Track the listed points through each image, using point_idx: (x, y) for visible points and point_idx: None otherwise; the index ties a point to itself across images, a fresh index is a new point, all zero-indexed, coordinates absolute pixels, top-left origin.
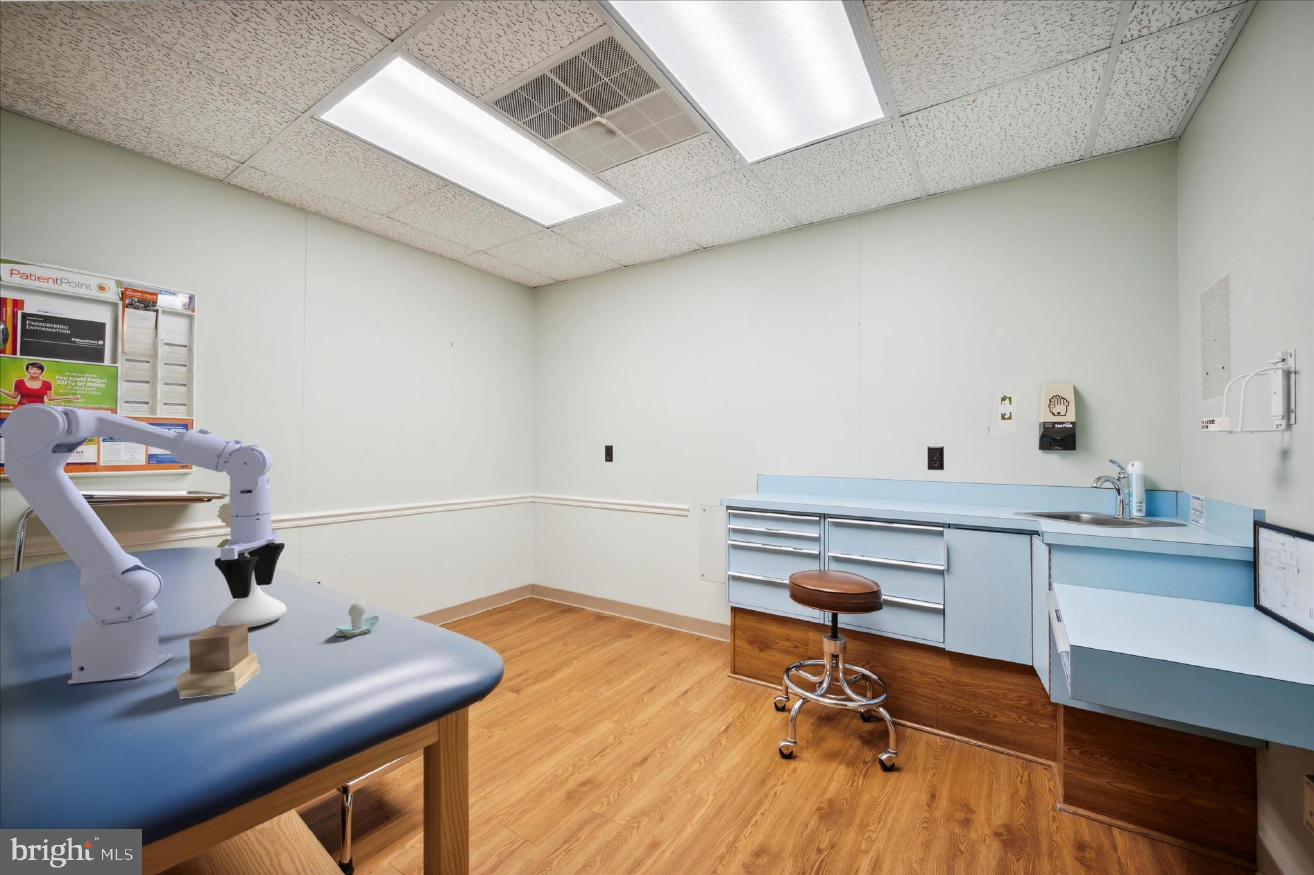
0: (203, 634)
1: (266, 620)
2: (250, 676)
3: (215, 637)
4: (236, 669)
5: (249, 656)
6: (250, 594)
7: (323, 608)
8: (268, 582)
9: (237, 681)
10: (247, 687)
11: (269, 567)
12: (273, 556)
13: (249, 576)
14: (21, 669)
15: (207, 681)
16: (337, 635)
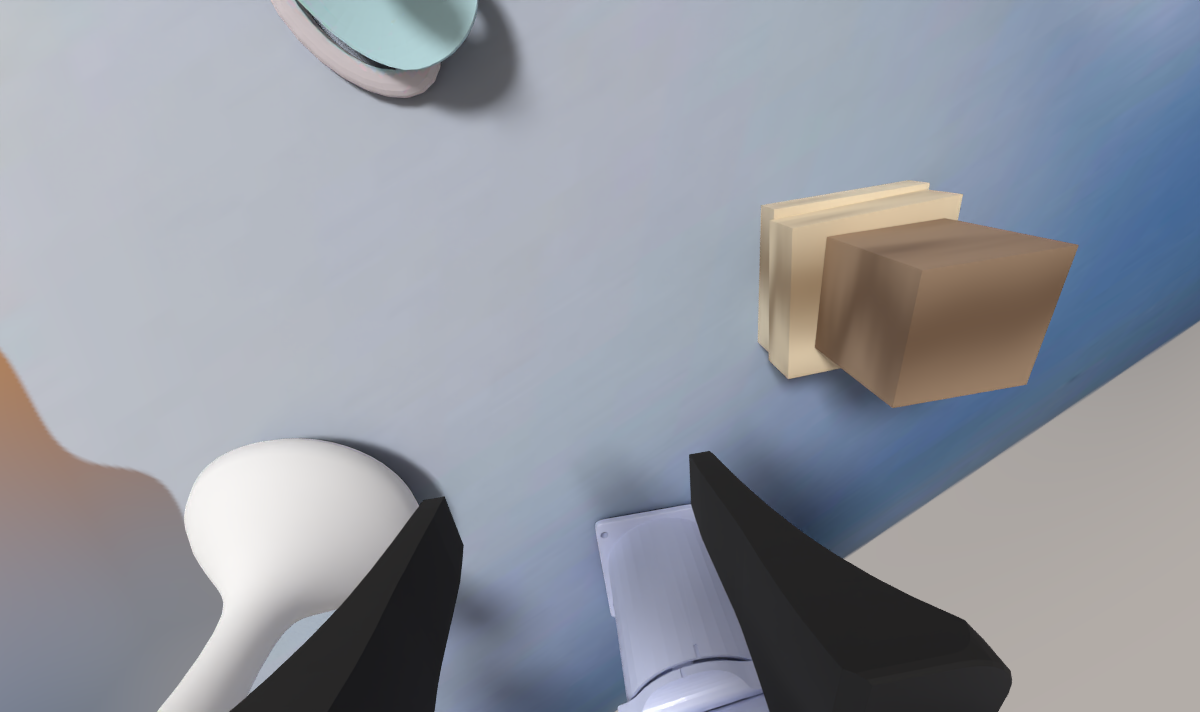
0: (982, 374)
1: (355, 452)
2: (831, 196)
3: (1055, 299)
4: (949, 196)
5: (835, 227)
6: (292, 597)
7: (89, 360)
8: (441, 513)
9: (906, 193)
10: (875, 170)
11: (407, 605)
12: (356, 692)
13: (787, 535)
14: (616, 701)
15: None
16: (439, 64)
